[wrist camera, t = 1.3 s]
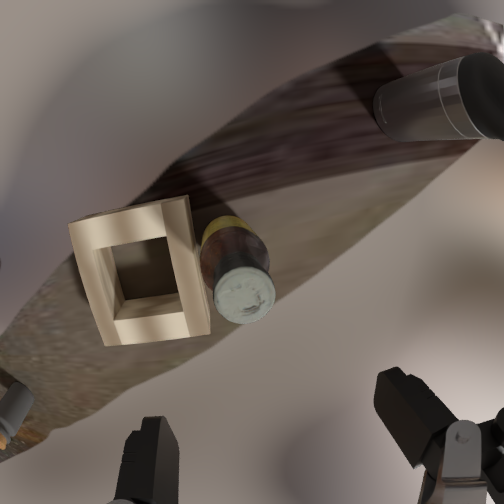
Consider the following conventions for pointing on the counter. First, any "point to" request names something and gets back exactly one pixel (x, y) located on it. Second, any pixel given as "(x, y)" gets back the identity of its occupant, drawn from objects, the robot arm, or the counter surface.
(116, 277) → the dock block
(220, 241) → the sauce bottle
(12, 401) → the bottle
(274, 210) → the counter surface
